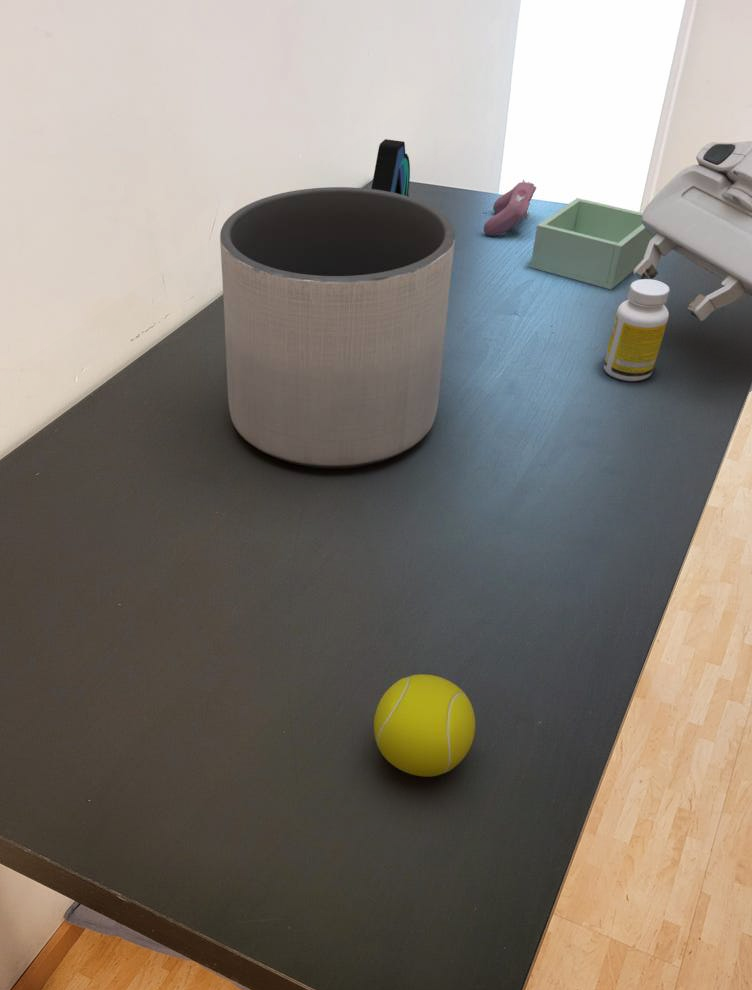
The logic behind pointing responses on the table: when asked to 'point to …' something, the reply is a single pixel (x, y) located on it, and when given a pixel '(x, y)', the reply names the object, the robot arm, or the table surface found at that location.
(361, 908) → the table surface
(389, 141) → the decorative sign
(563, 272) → the bin
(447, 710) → the tennis ball
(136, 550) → the table surface
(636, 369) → the supplement bottle
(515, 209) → the mauve lumpy piece
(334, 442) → the planter
